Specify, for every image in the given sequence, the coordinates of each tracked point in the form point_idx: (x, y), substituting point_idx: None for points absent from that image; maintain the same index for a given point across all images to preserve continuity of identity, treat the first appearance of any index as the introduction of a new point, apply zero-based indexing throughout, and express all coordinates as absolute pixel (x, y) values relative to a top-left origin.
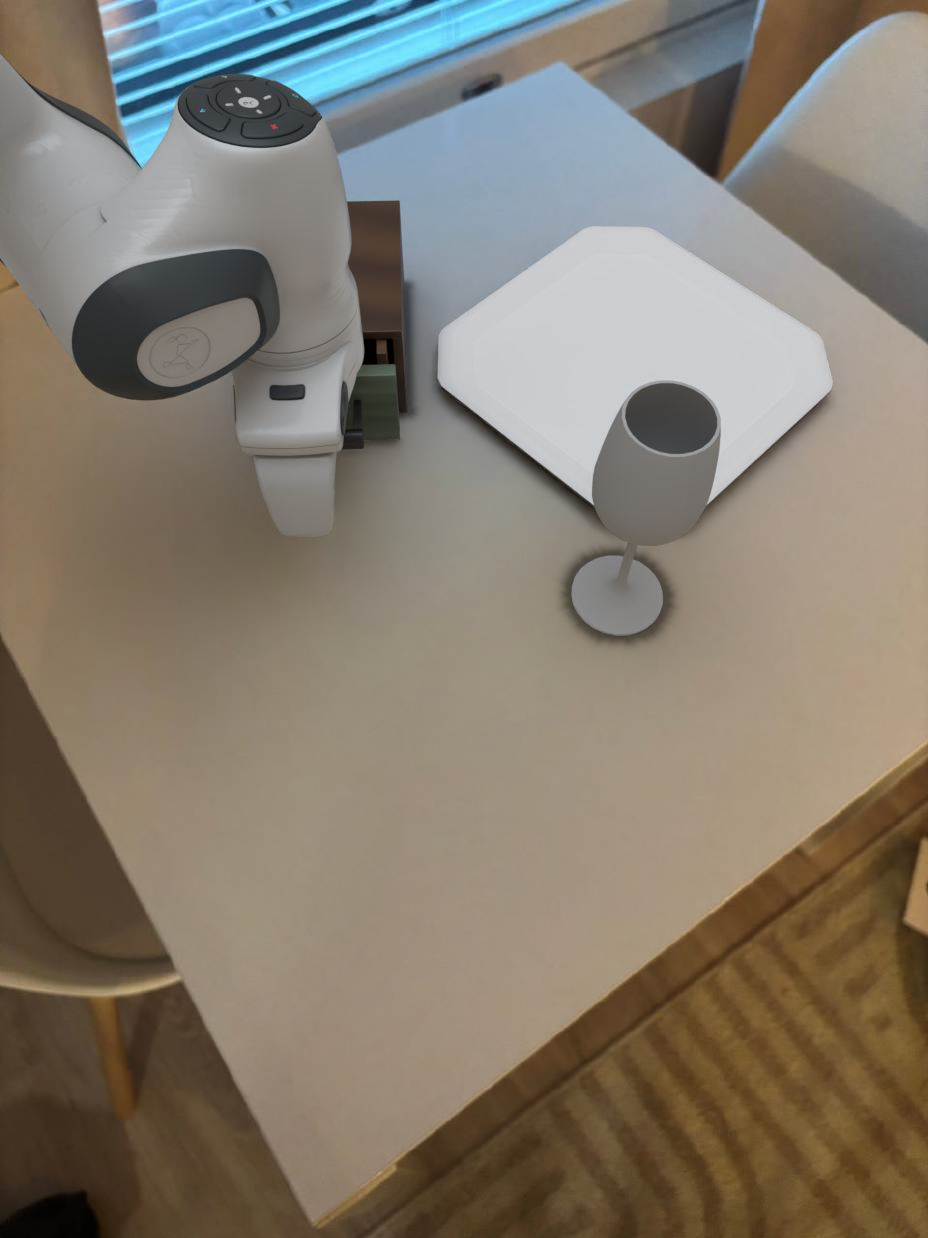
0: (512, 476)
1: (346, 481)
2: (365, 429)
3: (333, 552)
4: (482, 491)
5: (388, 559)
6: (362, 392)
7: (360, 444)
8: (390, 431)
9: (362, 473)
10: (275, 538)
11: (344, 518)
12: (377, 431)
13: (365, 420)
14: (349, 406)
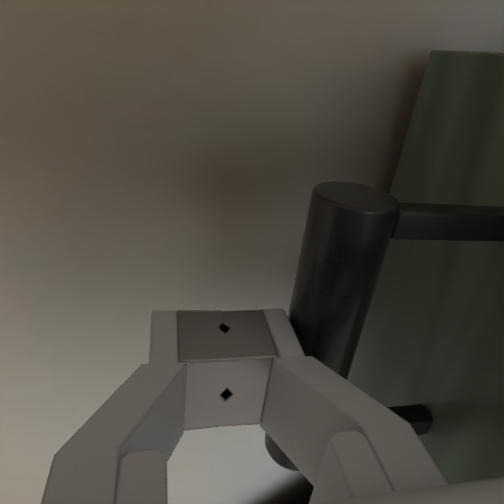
0: (232, 494)
1: (265, 270)
2: (367, 347)
3: (57, 245)
4: (207, 467)
5: (47, 351)
6: (442, 466)
7: (270, 448)
8: (350, 381)
9: (280, 299)
10: (98, 94)
11: (162, 267)
12: (357, 362)
13: (381, 372)
14: (422, 386)
